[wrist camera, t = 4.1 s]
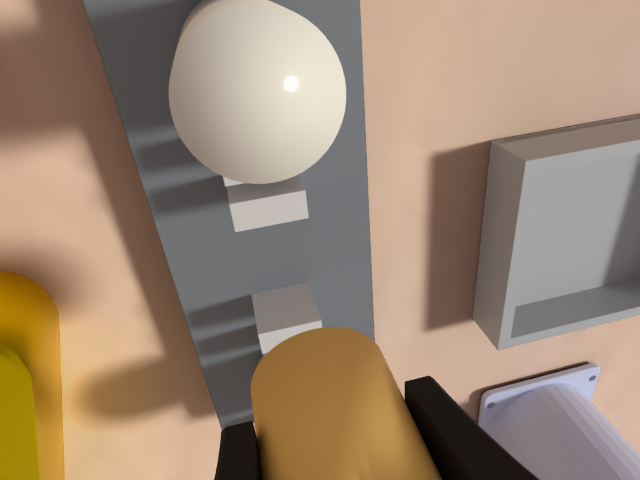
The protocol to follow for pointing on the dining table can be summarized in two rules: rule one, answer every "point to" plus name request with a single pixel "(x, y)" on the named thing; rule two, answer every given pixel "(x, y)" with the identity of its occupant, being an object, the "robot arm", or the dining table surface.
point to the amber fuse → (334, 412)
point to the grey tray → (560, 232)
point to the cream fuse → (255, 90)
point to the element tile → (29, 382)
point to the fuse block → (245, 204)
